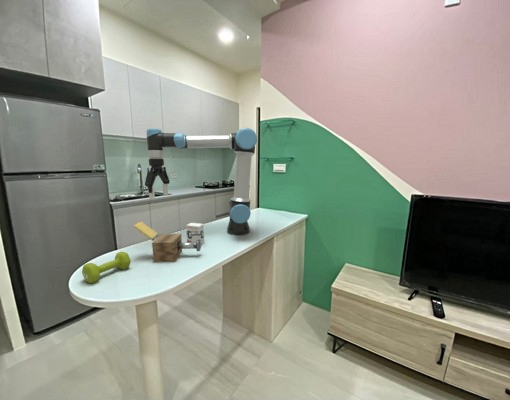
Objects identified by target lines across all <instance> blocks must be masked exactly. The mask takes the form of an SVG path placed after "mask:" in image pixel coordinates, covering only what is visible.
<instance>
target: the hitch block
mask: <svg viewBox="0 0 510 400" xmlns="http://www.w3.org/2000/svg"><path fill="white" fill-rule="evenodd" d="M182 240H183V239H182V233H170V234H169V233H168V234H167V233H165V234H164V233H163V234H159V236H158V237H157V238H156V239H155V240H154V241H152V242H151V247H152V260H153V261H152V262H153V263H175V262H177V260H178V259H179V257H180V256H181V254H182V253H183V249H177V243H183V241H182Z"/></svg>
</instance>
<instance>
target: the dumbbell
mask: <svg viewBox="0 0 510 400" xmlns="http://www.w3.org/2000/svg"><path fill="white" fill-rule="evenodd" d="M131 262H132V261H131V258H130V256H129V254H128V253H127V252H125V251H120V252H117V253H116V254H115V257H114V260H111V261H107V262H105V263H102V264H100V265H97V264H96V263H93V262H88V263H86V264H84V265H83V266H82V271H81V274H82V276H83V279H84V281H85V282H87V283H89V284H94V283H97V282H98V281H99V280H100V276H101V274H102V273H105V272H108V271H110V270H112V269H115V268H118V269H119V270H127V269H128V268H130V266H131Z"/></svg>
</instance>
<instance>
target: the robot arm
mask: <svg viewBox="0 0 510 400" xmlns="http://www.w3.org/2000/svg"><path fill="white" fill-rule="evenodd" d="M146 142H147V143H146V145H147V154H148V165H149V166H150V167H147V168H146V169H147V170H146V171H147V172H146V177H145V182H144V186H145V188H146V187H147V188H148V189H147V190H148V199H149V200H151V199H152V200H154V199H156V197H155V187H154V184H155V181H156V178H157V177H159V178H160V180H161V182H162V184H161V185H162V195H163V196H168V195H169V188H168V187H169V186H168V185H169V184H170V182H171V181H170V178H169V175H168V172H167V168H166V166H165V160H164V157H165V156H164V148H174V149H177V150H182V149H183V150H185V149H220V148H221V149H222V148H223V149H224V148H225V149H226V148H229V149H230V150H234V153H235V154H236V162H235V164H236V165H235V173H234V174H235V175H234V176H235V177H234V190H233V197H231V198H229V201H228V203H229V205H228V206H229V207H228V208H229V211H228V213H229V221H228V224H227V228H226V232H227V234H230V235H235V236H241V235H242V236H243V235H247V234H249V233H250V230H251V228H250V225H249V222H248V221H249V219H250V218H251V214H252V213H251V201H252V200H251V199H250V198H249V194H250V184H251V183H250V180H251V171H252V157H253V156H255V154H256V144H257V142H258V136H257V133H256V132H255V131H254V129H252V128H251V127H242V128H239V130H237V132H230V133H229V134H217V135H216V134H215V135H211V134H210V135H209V134H208V135H206V134H205V135H204V134H202V135H200V134H199V135H185V134H184V133H182V132H181V133H180V132H163V131H162V129H160V128H152V127H151V128H148V129H147V130H146Z"/></svg>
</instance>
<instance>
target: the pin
mask: <svg viewBox="0 0 510 400" xmlns="http://www.w3.org/2000/svg"><path fill="white" fill-rule="evenodd" d="M201 248H202V246H201V240H197V242H188V243H187V242H182V243H177V249H182V250H184V249H185V250H188V249H189V250H193V249H196V252H200V251H201Z"/></svg>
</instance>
